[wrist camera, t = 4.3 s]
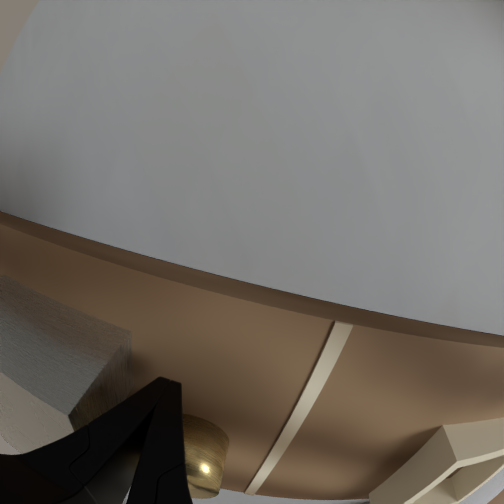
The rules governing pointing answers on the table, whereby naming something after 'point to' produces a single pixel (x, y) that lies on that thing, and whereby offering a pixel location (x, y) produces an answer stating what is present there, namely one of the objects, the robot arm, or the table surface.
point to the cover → (56, 367)
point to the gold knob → (204, 456)
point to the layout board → (273, 364)
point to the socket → (447, 466)
